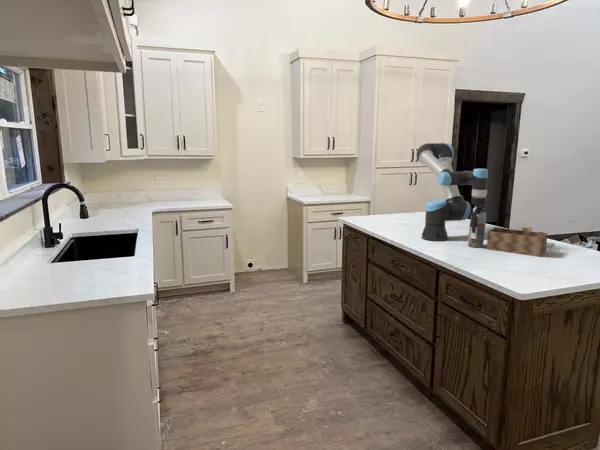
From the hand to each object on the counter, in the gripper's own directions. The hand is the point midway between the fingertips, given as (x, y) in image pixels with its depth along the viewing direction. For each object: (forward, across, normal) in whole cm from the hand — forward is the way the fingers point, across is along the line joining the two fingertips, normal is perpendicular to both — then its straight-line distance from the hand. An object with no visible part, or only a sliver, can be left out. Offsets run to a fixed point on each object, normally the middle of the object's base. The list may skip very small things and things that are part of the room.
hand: (476, 236), depth 232 cm
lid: (+6, +24, -20) cm, 32 cm away
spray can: (+6, 0, 0) cm, 6 cm away
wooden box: (+5, +3, -20) cm, 21 cm away
